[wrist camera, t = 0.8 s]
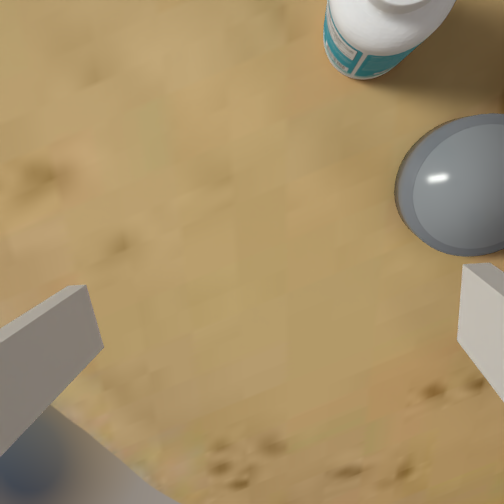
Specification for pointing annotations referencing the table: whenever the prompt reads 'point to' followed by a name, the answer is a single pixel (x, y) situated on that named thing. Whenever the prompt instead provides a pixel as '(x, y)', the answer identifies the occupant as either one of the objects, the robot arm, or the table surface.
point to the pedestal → (456, 186)
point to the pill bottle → (378, 32)
